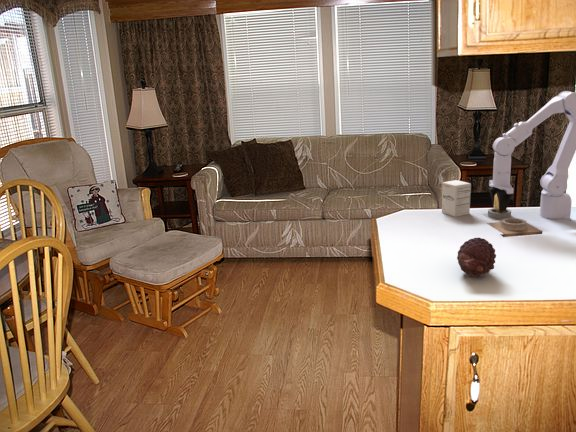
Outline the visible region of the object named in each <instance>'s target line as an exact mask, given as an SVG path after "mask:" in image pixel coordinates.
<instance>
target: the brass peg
mask: <svg viewBox="0 0 576 432" xmlns="http://www.w3.org/2000/svg"><path fill="white" fill-rule="evenodd" d="M493 208H494V212H496V213H505V212H506V211H499V201H498V197H497V194H495V195H494V207H493Z"/></svg>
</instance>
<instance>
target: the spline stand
mask: <svg viewBox="0 0 576 432" xmlns="http://www.w3.org/2000/svg"><path fill="white" fill-rule="evenodd" d="M482 215H483V216H484V217H486V218H488V219H489V220H491V221H494V222H495V221H502V219H506V218H516V216H514V215H512V210H511V209H508V208H507V209H506V212H505V213H496V212H494V207H492V208H489V209H488V210H487V213H482Z"/></svg>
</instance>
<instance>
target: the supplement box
mask: <svg viewBox="0 0 576 432" xmlns="http://www.w3.org/2000/svg"><path fill="white" fill-rule="evenodd" d="M471 188H472V183H471V182H467V181H462V180H459V179H454V180H448V181H443V182H442V192H441V193H442V195H441V196H442V200H441V213H442V214H446V215H448V216H450V217H460V216H466V215H469V214H470V213H471V212H470V208H471V193H472V192H471V190H472V189H471Z"/></svg>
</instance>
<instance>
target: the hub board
mask: <svg viewBox="0 0 576 432" xmlns="http://www.w3.org/2000/svg"><path fill="white" fill-rule="evenodd" d="M486 224H487V225H489V226H490V227H492V228H493V229H495V230H497V231H498V232H499V233H500V234H499V235H500V236H502V237H503V238H508V237H522V236H535V235H536V236H537V235H543V230H541V229H539V228H537V227H535V226H534V225H532V224H530V223H528V222H527V220H525V219H522V218H517V217H515V218H506V219H502V220H500V221H496V222H495V221H494V222H486Z"/></svg>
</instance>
